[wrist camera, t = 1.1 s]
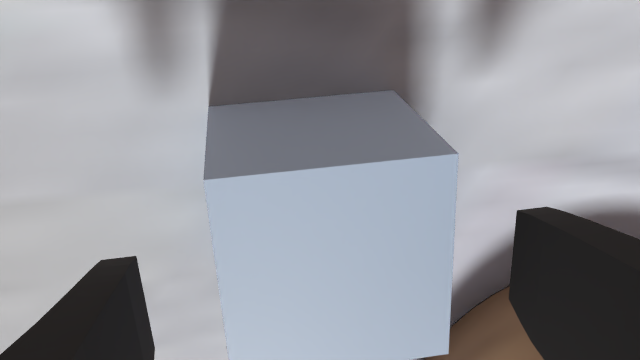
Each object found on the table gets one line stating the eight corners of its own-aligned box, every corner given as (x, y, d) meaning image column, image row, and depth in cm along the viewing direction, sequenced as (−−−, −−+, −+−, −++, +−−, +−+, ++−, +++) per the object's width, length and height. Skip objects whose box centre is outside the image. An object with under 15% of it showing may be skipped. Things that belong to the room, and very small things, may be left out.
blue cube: (392, 89, 15) (458, 153, 11) (392, 247, 16) (448, 354, 12) (208, 105, 14) (203, 180, 10) (229, 267, 16) (232, 385, 12)
